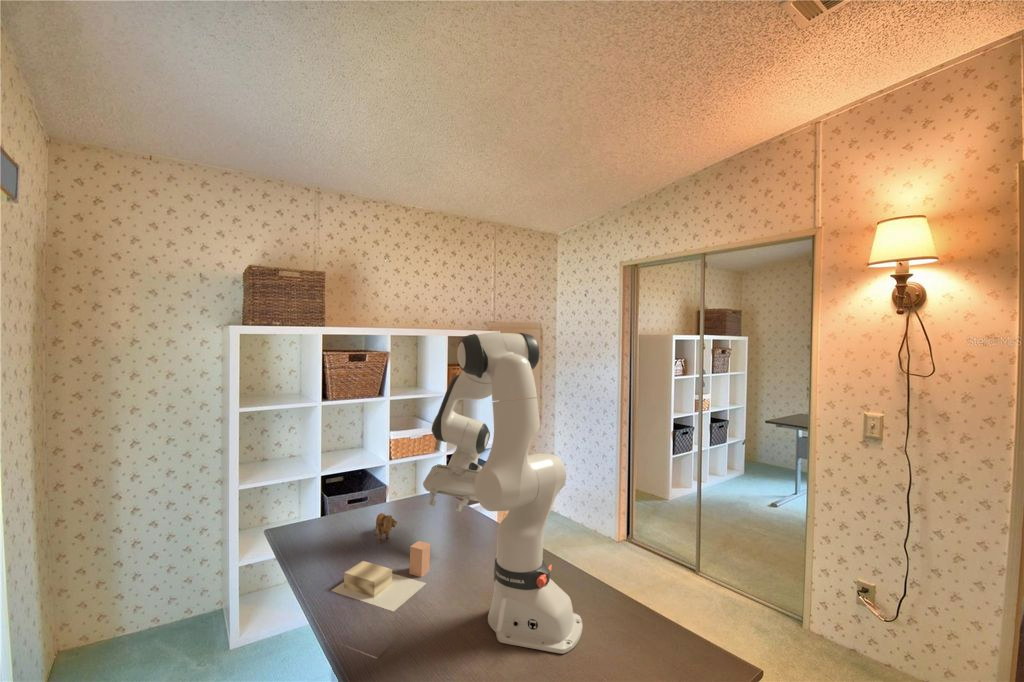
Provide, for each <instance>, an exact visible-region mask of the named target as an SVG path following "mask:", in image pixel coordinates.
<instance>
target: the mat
mask: <svg viewBox="0 0 1024 682" xmlns="http://www.w3.org/2000/svg"><path fill="white" fill-rule="evenodd" d="M425 585H427V583H426V582H424V581H419V580H416V579H413V578H411V577H410V578H409V577H408V576H407V577H406V576H404V575H400V574H395V573H393V572H392V584H391V585H390V586H389V587H387V588H386V589H385V590H383V591H382V592H381V593H379V594H378V595H377V596H376V597H371V596H368V595H365V594H362V593H359V592H356V591H353V590H350V589H346V588H344V581H343V582H341V583H340V584H339V585H337V586H336V587H334V588H332V589H331V590H330V591H331V592H333V593H337V594H340V595H342V596H346V597H348V598H352V599H355V600H358V601H361V602H364V603H366V604H370V605H372V606H376V607H378V608H382V609H384V610H388V611H391V612H395V611H396V610H397V609H398V608H399V607H401V606H402V605H403V604H404V603H405V602H407V601H408V600H409V599H411V597H412V596H414V594H416V593H417V592H419V591H420V590H421V589H422V588H423V587H425Z"/></svg>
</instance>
